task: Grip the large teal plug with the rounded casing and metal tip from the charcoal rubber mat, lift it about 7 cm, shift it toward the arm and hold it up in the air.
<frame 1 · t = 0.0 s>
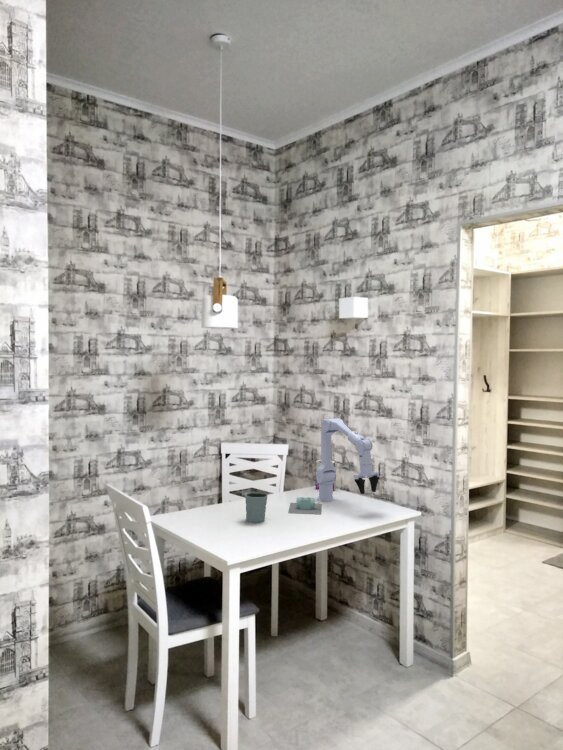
hand: (368, 492, 280), 11 cm above the table, tool pointing down, fingers open, 7 cm apart
charcoal mat: (305, 509, 287), on the table
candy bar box: (325, 489, 330), on the table
teal cup: (255, 520, 267), on the table
teal plug: (305, 508, 287), resting on charcoal mat
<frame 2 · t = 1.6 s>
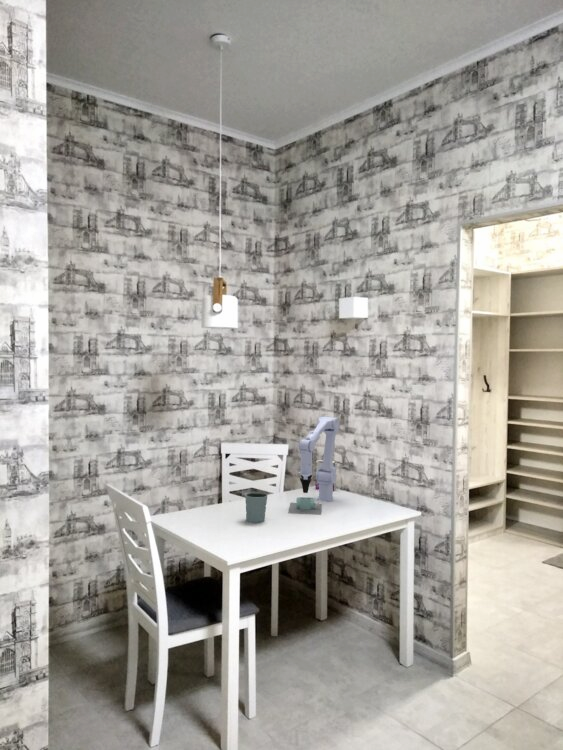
hand: (305, 490, 286), 9 cm above the table, tool pointing down, fingers open, 7 cm apart
nothing on the table moved.
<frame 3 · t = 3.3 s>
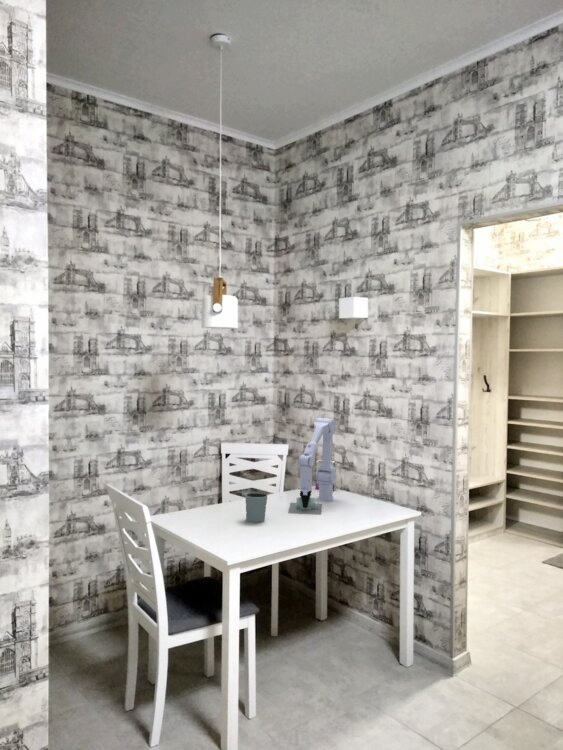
hand: (305, 506, 287), 2 cm above the table, tool pointing down, fingers closed on teal plug, 4 cm apart
teal plug: (305, 508, 287), resting on charcoal mat, touching gripper
everything else where it was.
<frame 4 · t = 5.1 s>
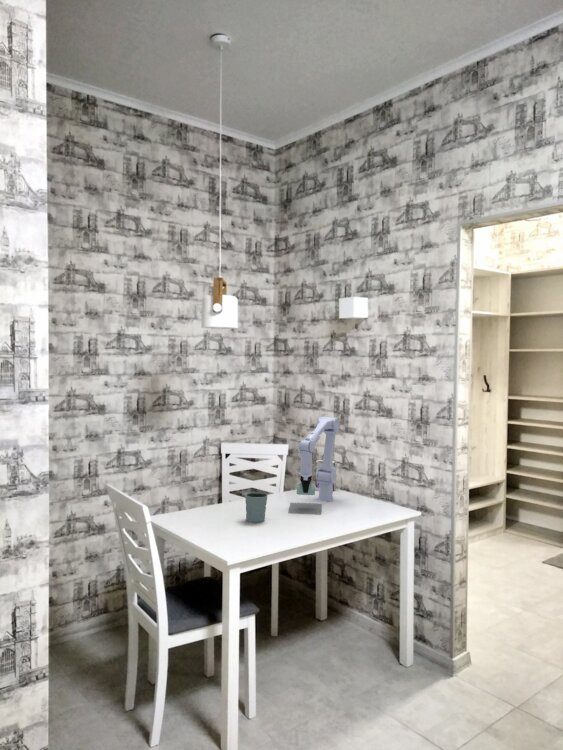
hand: (305, 491, 287), 9 cm above the table, tool pointing down, fingers closed on teal plug, 4 cm apart
teal plug: (305, 493, 287), point 8 cm above the table, touching gripper
everything else where it was.
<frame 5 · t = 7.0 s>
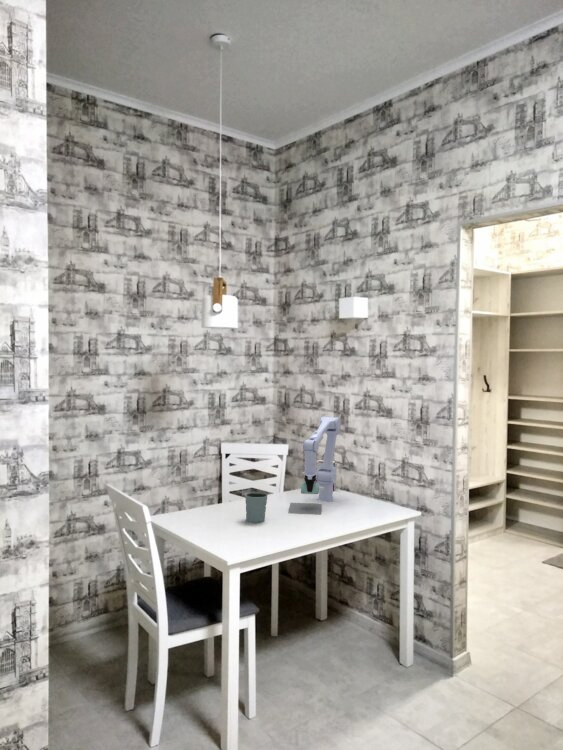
hand: (309, 490, 288), 9 cm above the table, tool pointing down, fingers closed on teal plug, 4 cm apart
teal plug: (309, 493, 288), point 8 cm above the table, touching gripper
everything else where it was.
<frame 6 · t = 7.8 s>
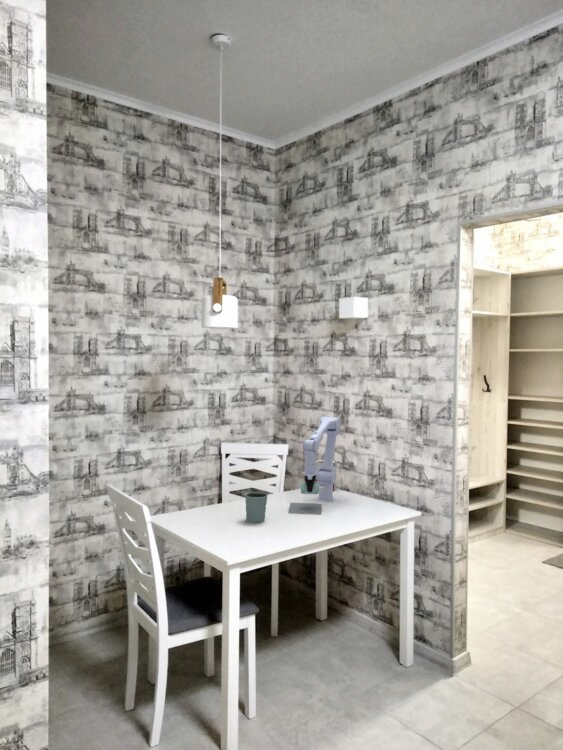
hand: (309, 490, 288), 9 cm above the table, tool pointing down, fingers closed on teal plug, 4 cm apart
teal plug: (309, 493, 288), point 8 cm above the table, touching gripper
everything else where it was.
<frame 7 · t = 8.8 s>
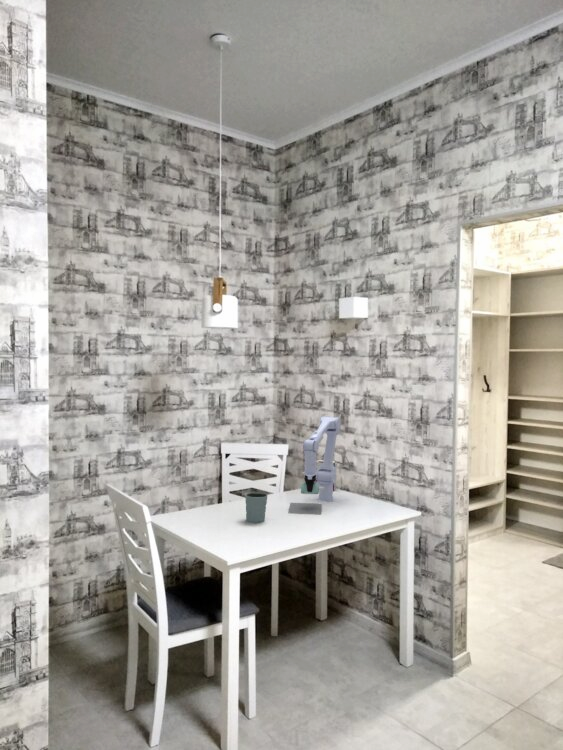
hand: (309, 490, 288), 9 cm above the table, tool pointing down, fingers closed on teal plug, 4 cm apart
teal plug: (309, 493, 288), point 8 cm above the table, touching gripper
everything else where it was.
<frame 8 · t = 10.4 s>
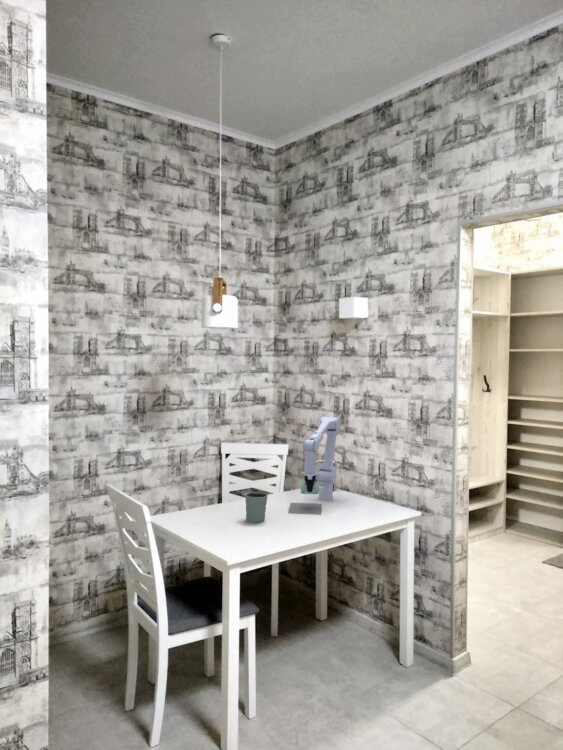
hand: (309, 490, 288), 9 cm above the table, tool pointing down, fingers closed on teal plug, 4 cm apart
teal plug: (309, 493, 288), point 8 cm above the table, touching gripper
everything else where it was.
at the end: the gripper is holding teal plug; teal plug inside the target area on the charcoal mat (0.5 cm from its centre), point 7.8 cm above the charcoal mat's base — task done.
